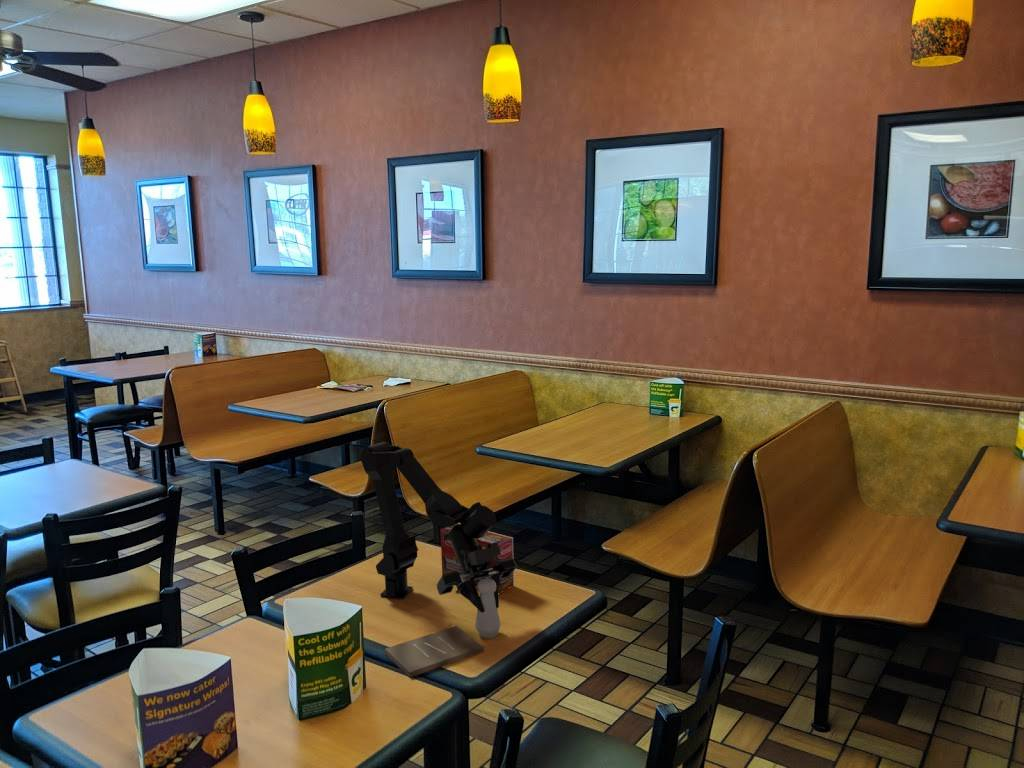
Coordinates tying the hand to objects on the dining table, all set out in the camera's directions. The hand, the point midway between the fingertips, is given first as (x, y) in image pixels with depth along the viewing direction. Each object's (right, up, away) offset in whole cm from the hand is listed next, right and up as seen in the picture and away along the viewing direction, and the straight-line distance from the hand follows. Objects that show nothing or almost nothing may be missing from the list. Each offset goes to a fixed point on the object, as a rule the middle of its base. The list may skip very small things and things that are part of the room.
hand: (490, 609), depth 177 cm
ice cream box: (-4, -2, +32) cm, 32 cm away
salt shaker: (-1, -7, +2) cm, 7 cm away
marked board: (-12, -8, -5) cm, 15 cm away
